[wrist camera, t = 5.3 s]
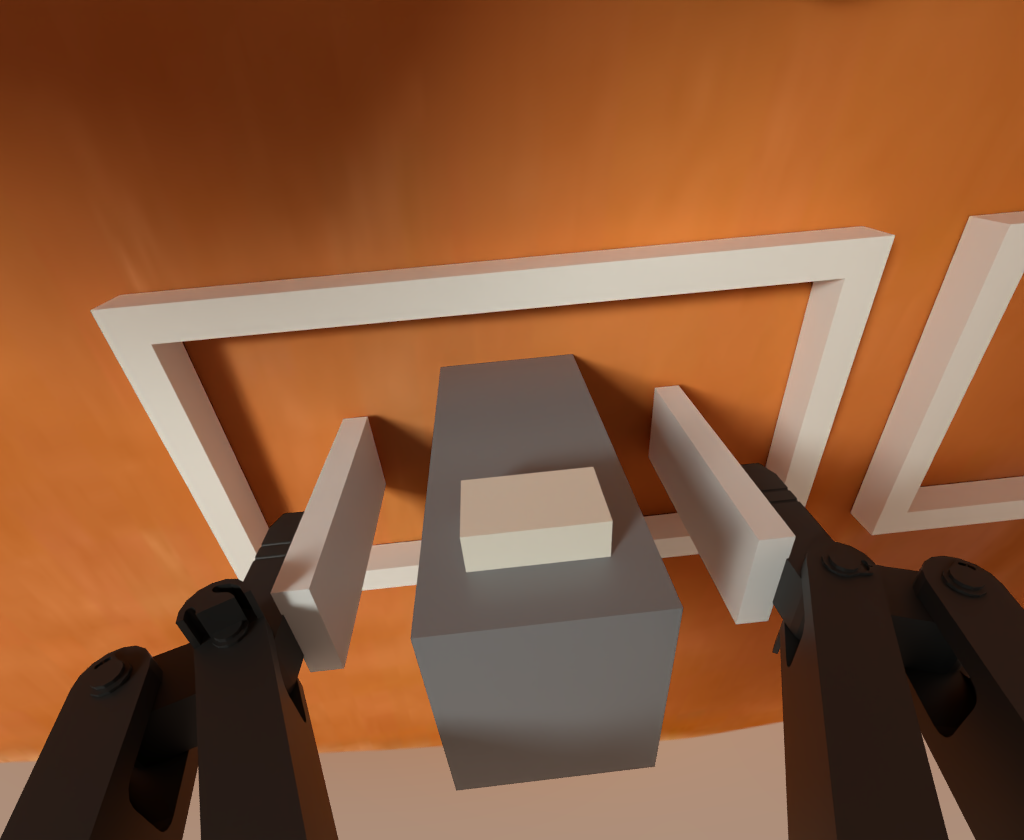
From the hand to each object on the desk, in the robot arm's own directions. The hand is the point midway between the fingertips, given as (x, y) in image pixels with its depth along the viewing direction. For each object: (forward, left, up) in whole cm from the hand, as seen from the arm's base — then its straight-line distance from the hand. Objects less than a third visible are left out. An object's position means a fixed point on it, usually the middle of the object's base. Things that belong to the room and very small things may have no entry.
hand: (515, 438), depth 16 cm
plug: (0, 0, 0) cm, 0 cm away
